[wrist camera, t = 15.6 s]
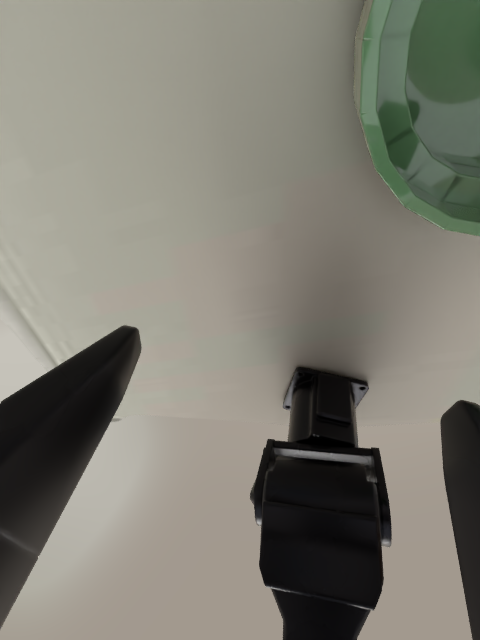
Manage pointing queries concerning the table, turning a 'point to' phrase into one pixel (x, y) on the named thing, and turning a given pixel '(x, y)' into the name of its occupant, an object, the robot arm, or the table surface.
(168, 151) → the table surface
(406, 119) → the bowl
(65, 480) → the robot arm
